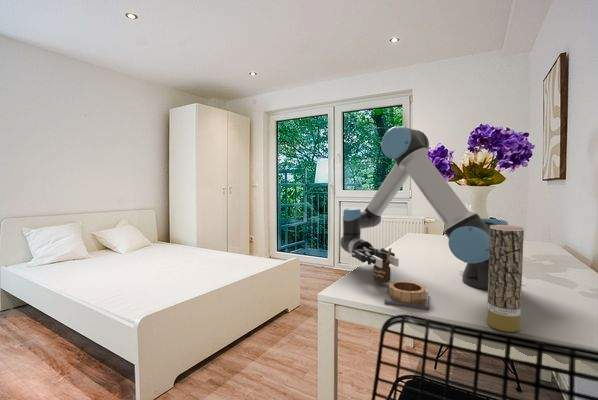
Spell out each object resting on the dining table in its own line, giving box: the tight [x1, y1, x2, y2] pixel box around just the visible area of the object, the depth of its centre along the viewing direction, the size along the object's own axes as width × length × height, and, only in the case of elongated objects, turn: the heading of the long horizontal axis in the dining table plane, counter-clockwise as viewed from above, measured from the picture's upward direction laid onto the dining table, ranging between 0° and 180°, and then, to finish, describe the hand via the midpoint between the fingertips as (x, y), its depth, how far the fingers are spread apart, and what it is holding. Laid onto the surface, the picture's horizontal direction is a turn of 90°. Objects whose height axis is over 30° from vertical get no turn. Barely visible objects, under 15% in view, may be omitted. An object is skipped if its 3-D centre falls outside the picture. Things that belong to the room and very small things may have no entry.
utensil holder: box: [372, 247, 393, 284], centre depth 107 cm, size 6×6×12 cm
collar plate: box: [383, 280, 429, 311], centre depth 94 cm, size 12×12×4 cm
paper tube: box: [486, 224, 525, 333], centre depth 75 cm, size 7×7×25 cm
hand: (389, 263), depth 102 cm, fingers closed on utensil holder, 5 cm apart
